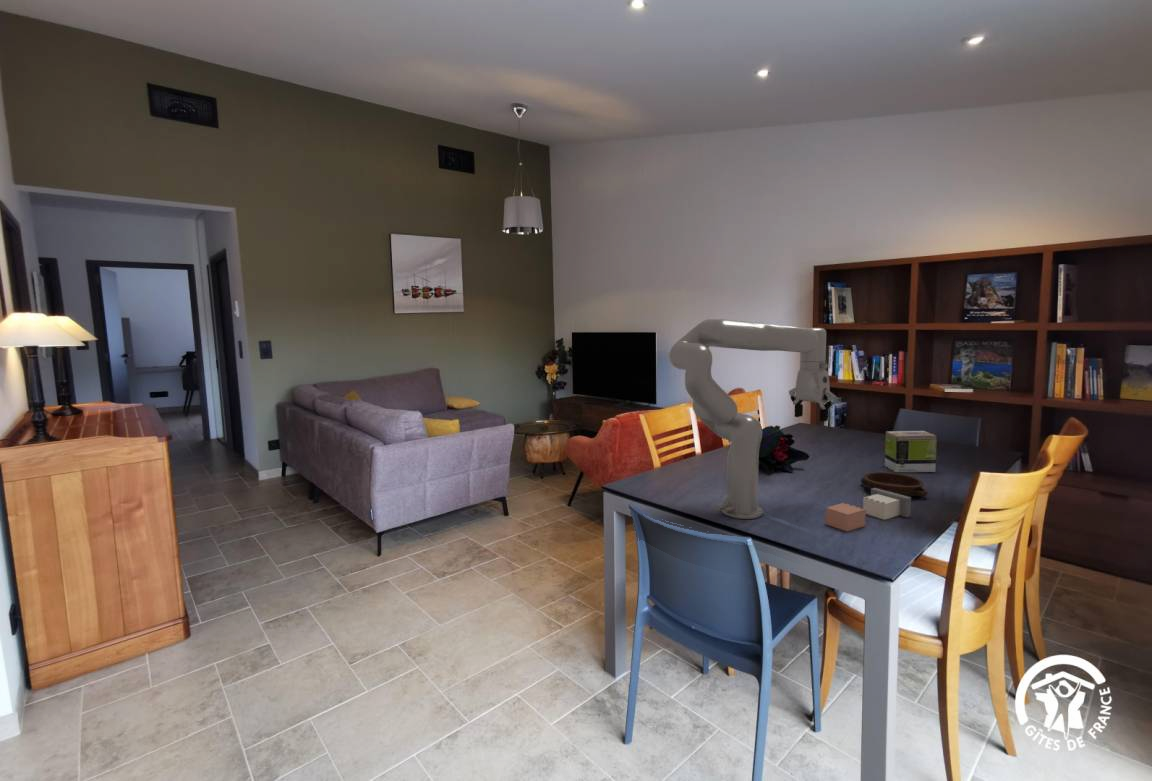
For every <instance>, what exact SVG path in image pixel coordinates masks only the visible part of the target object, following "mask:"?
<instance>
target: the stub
mask: <svg viewBox="0 0 1152 781" xmlns="http://www.w3.org/2000/svg"><path fill="white" fill-rule="evenodd" d="M865 513H866V509H864V508H863V507H859V506H857V505H856V506H855V505H853V504H851V503H847V502H842V503H838V504H835V505H830V506H827V507H826V508H825V525H827V526H831V527H833V528H835V529H839V530H841V531H844V532H847V533H849V532H851V531H853V530H856V529H860V528H862V527H865V526H866V514H865Z"/></svg>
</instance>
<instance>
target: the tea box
mask: <svg viewBox="0 0 1152 781" xmlns="http://www.w3.org/2000/svg"><path fill="white" fill-rule="evenodd" d="M937 438H938V435H937V434H936V435H935V434H934V433H931V432H928V431H926V430H895V431H894V430H891V431H888V430H886V431H885V441H884V442H885V447H884V448H885V449H884V467H886V468H887V467H888V468H887V469H889V470H891V471H892V470H893V471H892V472H893V473H936V470H937V468H936V466H937V442H938V441H937V440H938V439H937Z"/></svg>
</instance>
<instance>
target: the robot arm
mask: <svg viewBox="0 0 1152 781" xmlns="http://www.w3.org/2000/svg"><path fill="white" fill-rule="evenodd" d="M710 347H714V348H723V349H724V348H725V349H737V350H747V351H762V352H764V351H765V352H768V351H771V352H772V351H775V352H776V351H780V352H790V353H792V352H793V353H799V354H800V355H799V370H798V372H797V376H796V382H795V387H794V388H792V389H790V390H788V394H789V397H790V400H791V402H792V405H793V406H794V417H795V418H800V417H803V416H804V415H803V413H804V411H803V410H804V409H803V408H804V405H803V404H802V403H803V402H810V403H818V405H819V406H820V408H821V409H819V422H822V423H823V422H828V420H829V409H831V407H832V406H833V405H834V403H835V401H836V400H837V396H836V395H835V394H834V393H833V392H831V391H830V390H831V388H830V387H831V386H830V377H829V372H828V370H826V369H828V367H829V365H828V363H826V353H827V330H826V329H825V328H824V327H799V326H790V325H789V326H787V325H777V324H772V323H771V324H770V323H764V322H756V321H754V322H753V321H743V320H735V319H723V318H722V319H715V318H713V319H711V318H710V319H709V318H708V319H704V320H703V321H701V322H700V323H698V324H696V325H695V326H694V327H693V328H692V329H691V330H690V331H688V332H687V333H686V334H685V335H684V336H682V337H681V338H679V340H677V341H676V342H675V343H674V344H673V346H672V347H671V348H670V350H669V355H668V357H669V358H668V359H669V362H670V363H671V365H672V366H673V367H674V368H676V369H678V370H683V371H685V372H684V386H685V390H686V393H687V394H688V396H689V397H690V398H691V399H692V409H693V412H694V413H695V415H696V416H697V418H699V420H701V421H702V423H703V424H704V425H705V426H707V427H708V429H709V430H711V431H712V432H713V433H714V434H715V435H716V436H718V437H719V438H721V439H724V440H726V441H729V442H731V443H730V446H729V449H728V451H727V455H726V456H727V457H726V498H723V502H722V503H719V504H716V505H715V506H714V507H715V510H716V511H717V512H720V511H721V512H722V514H723V515H725V516H728V517H730V518H734V519H740V520H741V519H742V520H750V519H757V518H760V517H761V516H763V512H764V510H763V508H761V506H759V505H758V504H759V463H758V462H759V448H760V443H761V438H762V429H763V427H762V425H761V423H760V422H759V420H758V419H757V418H755V417H754V416H751V415H748V414H746V413H741V412H739V411H738V405H737V403H736V402H735V400H734V398H732V397H731V396H730V395H729V394H728V393H727V392H726V391H725V390H724V389H723V388H722V387H721V386H720V385H719V384H718V383H717V382H716V381H715V379H714V378H713V376H712V367H713V366H712V365H713V354H712V352H711V350H710Z"/></svg>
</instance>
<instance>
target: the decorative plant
mask: <svg viewBox="0 0 1152 781" xmlns="http://www.w3.org/2000/svg"><path fill="white" fill-rule="evenodd" d="M793 437H794V435H792V434H790V433H787V434H785V433H784V432H783V431H782V430H781V426H780V425H777V424H776V425H774V426H773V425H768V426H765V427H764V428H763V427H762V438H761V443H760V448H759V462H758V465H759V466H761V467H763V469H765V471H767V473H768V474H769V473H772V474H773V473H774V468H776V469H780V470H783V471H785V472H788V473H789V472H791V473H793V471H794V468H793V466H792V464H794V463H797V462H803V461H807V460H809V458H810V455H809V453H807V452H806V451H803V450H799V449H797V448H795V447H792V445H794V443H795V440H794V439H793Z"/></svg>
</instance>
